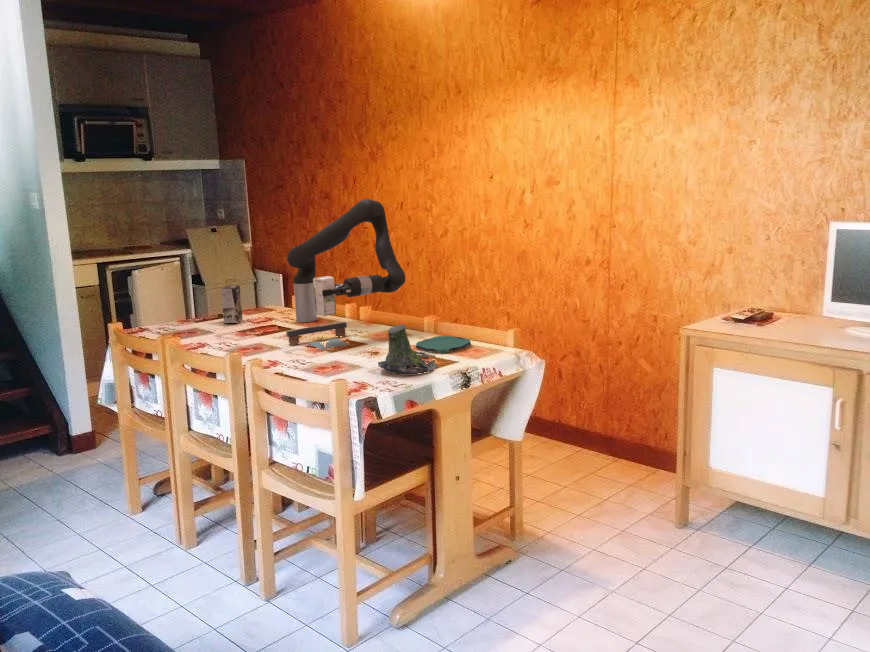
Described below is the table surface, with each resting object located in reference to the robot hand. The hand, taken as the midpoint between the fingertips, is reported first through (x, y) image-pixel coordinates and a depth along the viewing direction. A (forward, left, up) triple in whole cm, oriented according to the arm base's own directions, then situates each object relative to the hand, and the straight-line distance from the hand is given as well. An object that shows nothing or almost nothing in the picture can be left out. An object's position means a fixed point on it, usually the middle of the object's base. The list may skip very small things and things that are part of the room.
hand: (318, 292), depth 286 cm
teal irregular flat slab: (+34, +29, -22) cm, 50 cm away
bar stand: (-9, +2, -21) cm, 23 cm away
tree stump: (+51, +8, -21) cm, 56 cm away
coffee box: (-68, -13, -21) cm, 73 cm away
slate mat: (+1, +2, -21) cm, 21 cm away
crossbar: (-9, +2, -17) cm, 20 cm away
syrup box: (0, +2, -9) cm, 10 cm away
